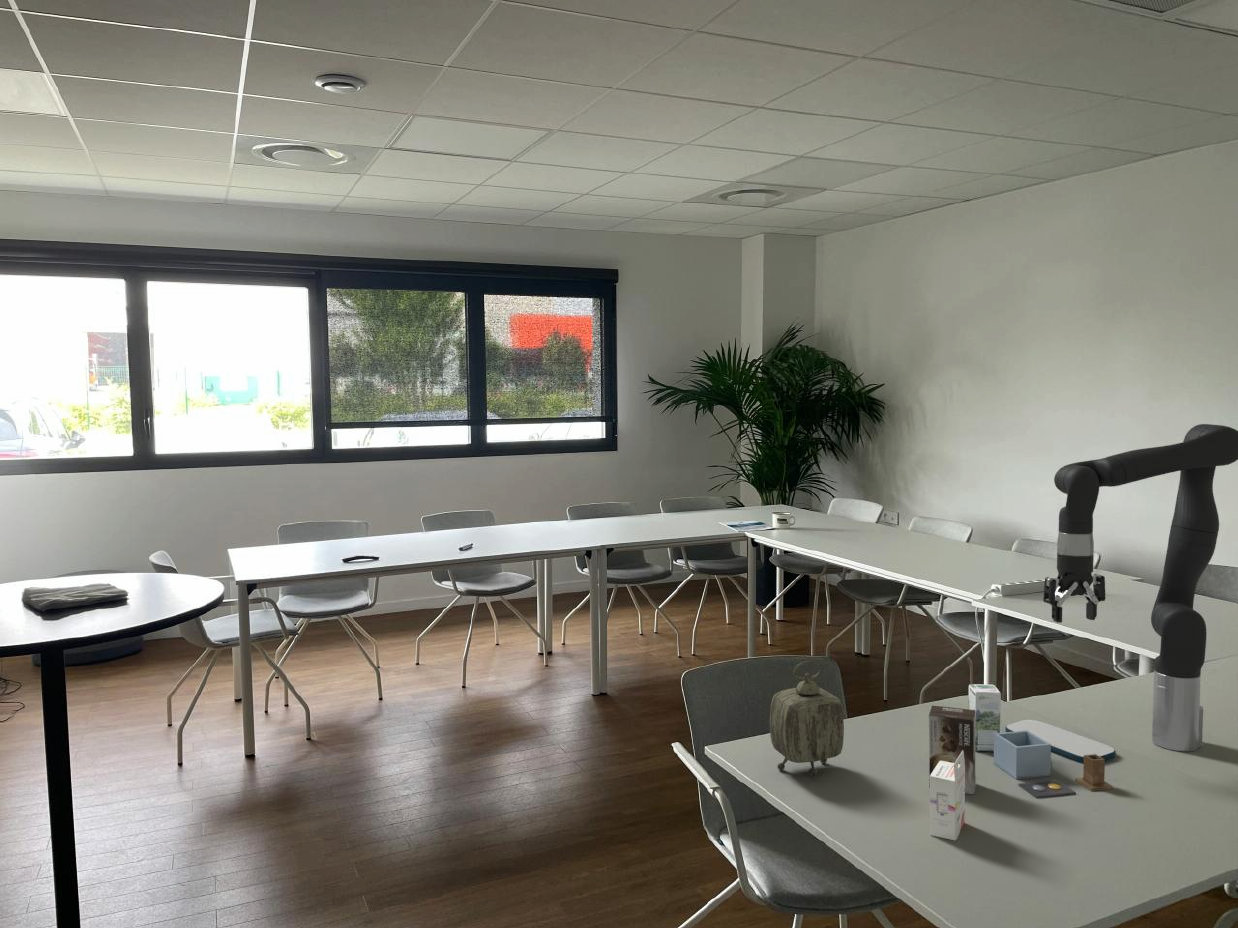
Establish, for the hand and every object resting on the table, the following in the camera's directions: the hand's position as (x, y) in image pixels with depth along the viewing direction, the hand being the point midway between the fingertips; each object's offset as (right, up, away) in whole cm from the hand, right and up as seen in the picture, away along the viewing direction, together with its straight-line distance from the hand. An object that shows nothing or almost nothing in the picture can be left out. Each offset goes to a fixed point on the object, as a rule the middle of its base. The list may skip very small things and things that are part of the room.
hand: (1074, 620), depth 205 cm
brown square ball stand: (-5, -32, -18) cm, 37 cm away
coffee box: (-35, -32, -17) cm, 50 cm away
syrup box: (-20, -31, +3) cm, 37 cm away
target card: (-16, -32, -20) cm, 41 cm away
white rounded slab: (-2, -31, +4) cm, 31 cm away
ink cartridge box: (-43, -34, -35) cm, 65 cm away
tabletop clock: (-63, -32, -9) cm, 72 cm away
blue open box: (-17, -31, -10) cm, 37 cm away
